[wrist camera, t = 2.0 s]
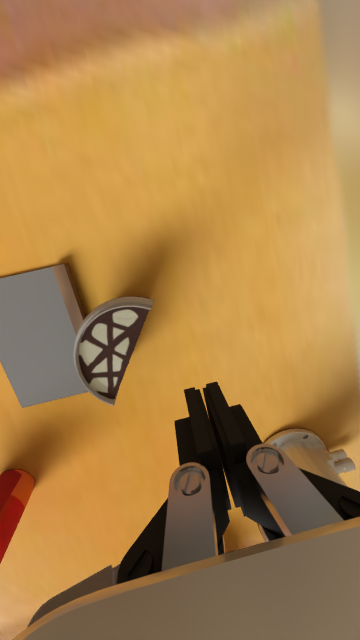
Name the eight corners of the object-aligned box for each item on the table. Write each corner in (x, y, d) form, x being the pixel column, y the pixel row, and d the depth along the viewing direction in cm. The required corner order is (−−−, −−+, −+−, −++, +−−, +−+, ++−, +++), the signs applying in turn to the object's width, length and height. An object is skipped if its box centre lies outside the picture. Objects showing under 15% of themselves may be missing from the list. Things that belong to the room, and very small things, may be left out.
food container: (109, 271, 32) (89, 280, 22) (153, 289, 33) (153, 304, 23) (81, 354, 34) (53, 393, 25) (123, 367, 36) (112, 410, 26)
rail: (68, 263, 31) (63, 263, 30) (109, 385, 36) (107, 390, 35) (56, 265, 31) (51, 266, 29) (99, 387, 36) (97, 393, 35)
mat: (54, 266, 31) (53, 266, 31) (97, 388, 36) (97, 389, 36) (-33, 285, 31) (-35, 286, 30) (23, 406, 36) (22, 407, 35)
